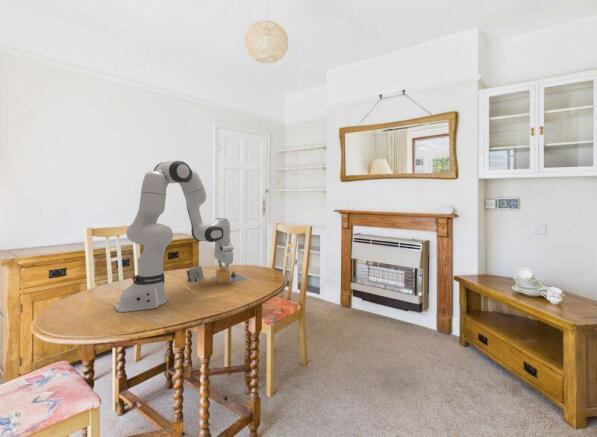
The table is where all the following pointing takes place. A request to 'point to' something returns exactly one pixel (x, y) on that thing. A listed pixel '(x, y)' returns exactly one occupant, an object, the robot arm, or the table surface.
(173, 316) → the table surface
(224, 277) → the orange knobbed cube
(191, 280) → the electrical switch
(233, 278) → the board
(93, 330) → the table surface
